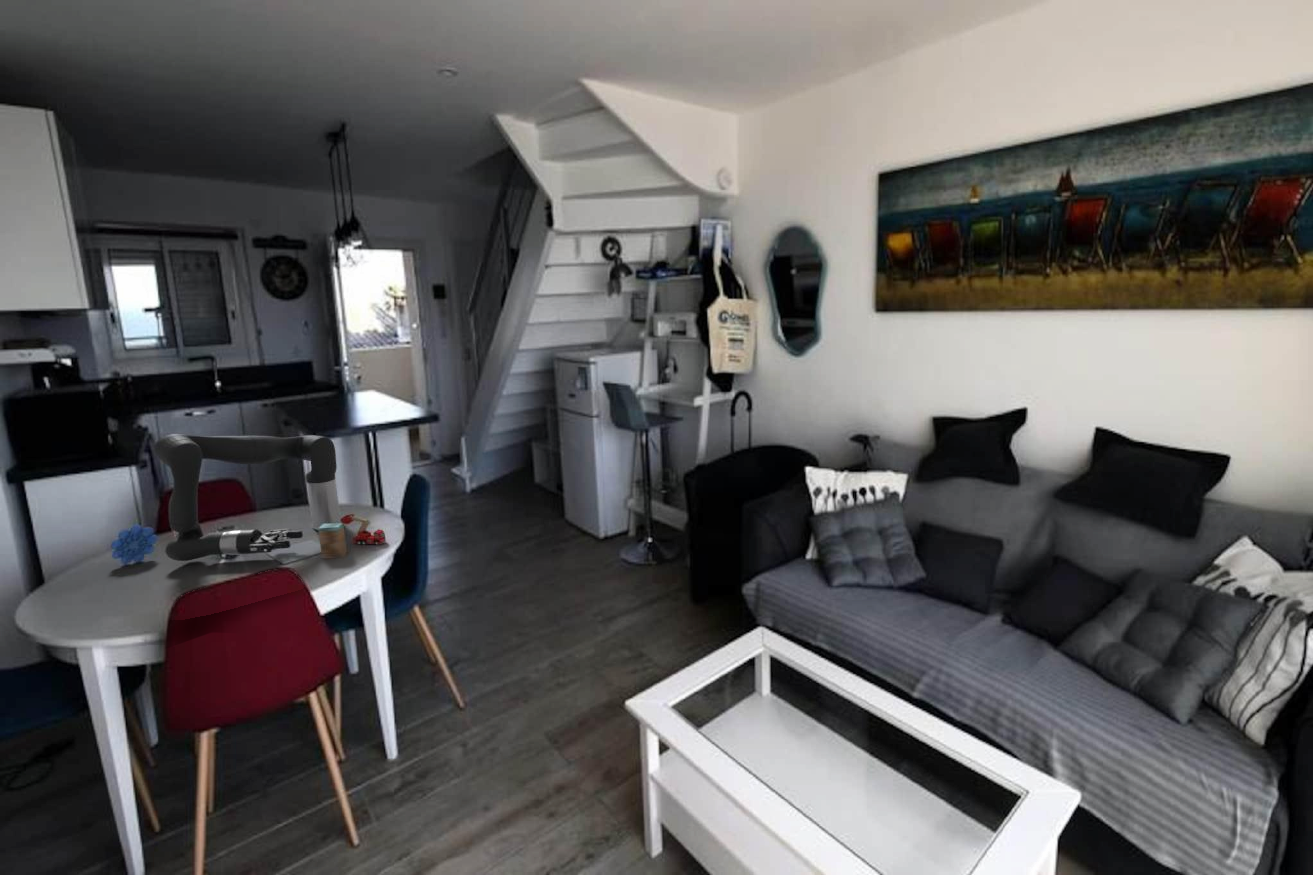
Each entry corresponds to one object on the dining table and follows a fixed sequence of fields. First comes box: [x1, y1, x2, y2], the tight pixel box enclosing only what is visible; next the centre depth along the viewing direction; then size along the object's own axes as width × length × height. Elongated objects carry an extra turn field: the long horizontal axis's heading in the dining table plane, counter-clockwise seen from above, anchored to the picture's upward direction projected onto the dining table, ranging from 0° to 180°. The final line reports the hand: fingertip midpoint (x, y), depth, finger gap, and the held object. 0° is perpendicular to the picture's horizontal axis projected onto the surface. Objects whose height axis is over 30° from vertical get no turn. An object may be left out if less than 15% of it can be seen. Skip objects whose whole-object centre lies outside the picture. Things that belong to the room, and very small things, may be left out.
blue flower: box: [110, 524, 159, 565], centre depth 195 cm, size 12×7×12 cm, turn 131°
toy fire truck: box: [340, 513, 387, 546], centre depth 207 cm, size 3×14×10 cm, turn 84°
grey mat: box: [265, 539, 322, 565], centre depth 201 cm, size 14×14×1 cm
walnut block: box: [317, 523, 348, 559], centre depth 198 cm, size 6×4×10 cm, turn 96°
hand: (296, 539), depth 196 cm, fingers open, 8 cm apart
